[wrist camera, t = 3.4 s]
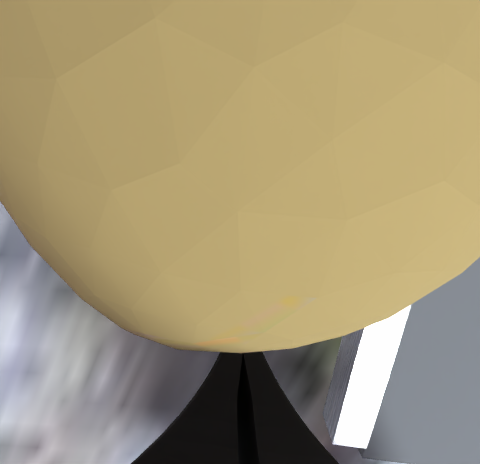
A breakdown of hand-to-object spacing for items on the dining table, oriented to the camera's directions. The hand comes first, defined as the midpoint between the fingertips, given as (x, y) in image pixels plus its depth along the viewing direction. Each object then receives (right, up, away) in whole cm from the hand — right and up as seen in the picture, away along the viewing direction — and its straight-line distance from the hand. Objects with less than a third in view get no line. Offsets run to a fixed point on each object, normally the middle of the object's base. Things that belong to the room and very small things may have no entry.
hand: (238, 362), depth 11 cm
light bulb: (0, +8, 0) cm, 8 cm away
